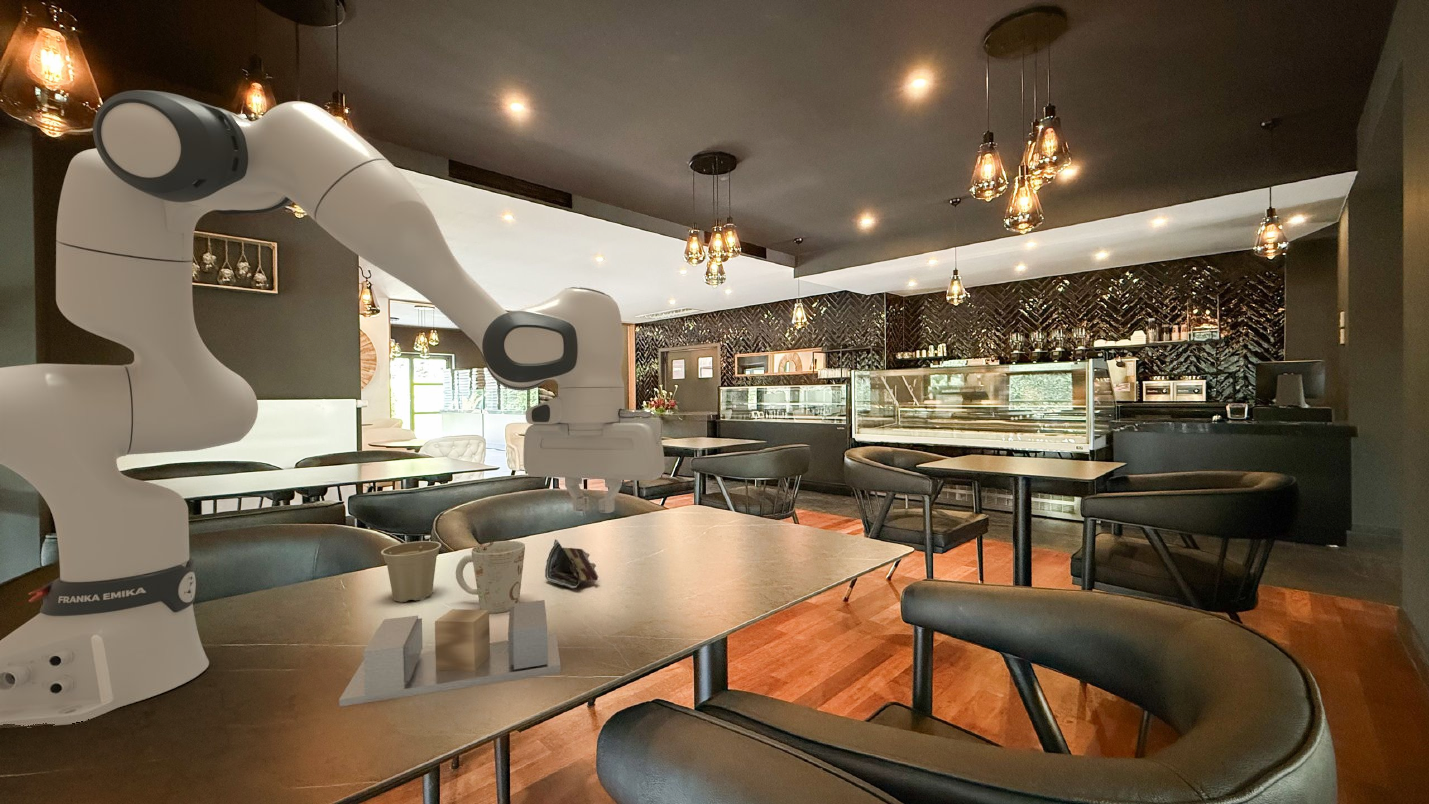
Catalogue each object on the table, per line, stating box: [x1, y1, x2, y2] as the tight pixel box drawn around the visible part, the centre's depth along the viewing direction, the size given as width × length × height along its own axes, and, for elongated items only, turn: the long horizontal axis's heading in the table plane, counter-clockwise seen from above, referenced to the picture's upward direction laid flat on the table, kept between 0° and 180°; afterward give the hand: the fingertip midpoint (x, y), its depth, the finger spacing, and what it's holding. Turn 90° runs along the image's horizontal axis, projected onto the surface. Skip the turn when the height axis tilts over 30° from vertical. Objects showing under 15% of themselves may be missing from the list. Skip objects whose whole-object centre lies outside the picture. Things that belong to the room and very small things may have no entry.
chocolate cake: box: [544, 538, 599, 589], centre depth 109 cm, size 10×7×12 cm
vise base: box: [338, 615, 562, 707], centre depth 73 cm, size 24×10×6 cm, turn 108°
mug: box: [455, 540, 526, 614], centre depth 96 cm, size 8×13×10 cm, turn 78°
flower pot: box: [380, 540, 442, 603], centre depth 101 cm, size 9×9×9 cm
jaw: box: [507, 599, 548, 669], centre depth 75 cm, size 5×10×5 cm, turn 18°
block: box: [434, 608, 491, 670], centre depth 73 cm, size 5×4×6 cm
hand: (593, 511), depth 78 cm, fingers open, 3 cm apart
